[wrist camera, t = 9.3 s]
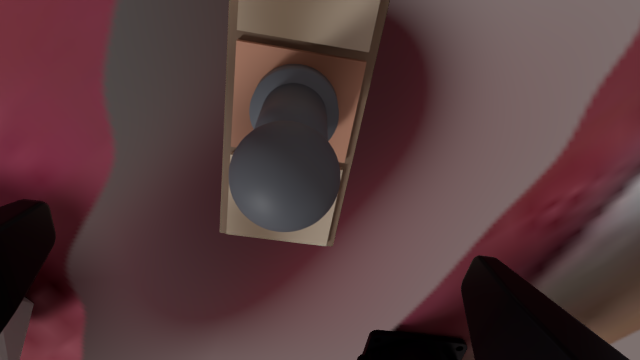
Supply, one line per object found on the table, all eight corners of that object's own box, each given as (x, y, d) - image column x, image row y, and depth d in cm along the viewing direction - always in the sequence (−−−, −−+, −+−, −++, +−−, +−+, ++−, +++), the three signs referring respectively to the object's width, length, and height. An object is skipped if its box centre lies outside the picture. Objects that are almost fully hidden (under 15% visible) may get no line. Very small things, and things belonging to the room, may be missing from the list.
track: (453, -294, 11) (464, -315, 10) (332, 238, 21) (332, 250, 20) (248, -347, 11) (241, -373, 10) (222, 224, 21) (218, 236, 20)
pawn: (345, 71, 16) (365, 154, 9) (329, 150, 17) (337, 268, 11) (256, 56, 15) (210, 131, 9) (249, 139, 17) (207, 253, 10)
